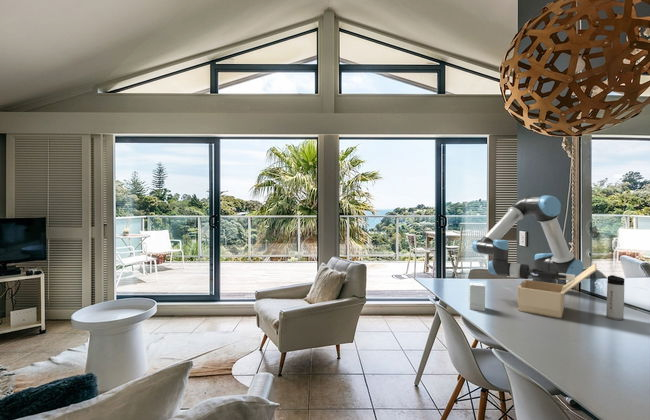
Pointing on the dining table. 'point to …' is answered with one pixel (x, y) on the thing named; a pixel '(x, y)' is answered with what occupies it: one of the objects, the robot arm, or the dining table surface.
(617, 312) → the travel mug
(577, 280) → the carton flap
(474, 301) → the supplement box
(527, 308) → the carton
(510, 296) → the dining table surface
